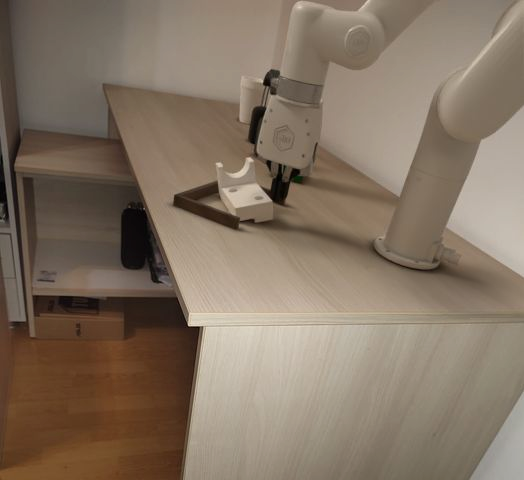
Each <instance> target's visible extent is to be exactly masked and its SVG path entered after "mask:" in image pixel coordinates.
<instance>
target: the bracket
mask: <svg viewBox="0 0 524 480" xmlns="http://www.w3.org/2000/svg"><path fill="white" fill-rule="evenodd" d="M215 170H216V179H217V180H218V188H219V192H218V195H219V197H220V199H221V201H222V203H223V204H224V206H225V207H226V208H227V210H228V211H229V214H232V215H234V216H237V217H240V221H239V222H241V221H248V220H253V222H254V223H262V222H267V221H271V220H274V206H273V205H274V204H273V203H274V202H272V200H271V199H270V198H269V197H268V195H267V194H266V193H265V192H264V191H263V190H262V189H261V187H260V186H261V185H259V184H258V183H257V179H256V168H255V160H254V159H253V158H252V157H251V156H249V157H245V162H244V165H243V167H242V168H241V169H240V170H239V171H237V172H234V173H233V172H232V173H230V172H228V171H226V170H225V167H224V164H222V162H215Z"/></svg>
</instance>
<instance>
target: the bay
mask: <svg viewBox="0 0 524 480" xmlns="http://www.w3.org/2000/svg"><path fill="white" fill-rule="evenodd" d="M259 186H260V187H261V189H262V190H263V191H264V192H265V193H266V194H267V195H268V197H269V198H270V199H271V194H270V189H271V188H267V187H263V186H261V185H259ZM217 193H219V188H218V179H217V180H215V181H211V182H208V183H205V184H202V185H198V186H196V187H194V188H190V189H187V190H185V191H181V192H178V193H175V194H174V195H173V203H172V205H173V207H174V206H175V207H177V208H180V209H182V210H184V211H188V212H190V213H192V214H195V215H198V216H200V217H202V218H205V219H208V220H209V221H210V220H211V221H212V222H213V221H214V222H216V223H218V224H221V225H223V226H226V227H228V228H231V229H233V230H238V229H239V226H240V222H241V221H240V217H237V216H234V215H232V214H231V213H230V212H226V211H223V210H221V209H218V208H216V207H213V206H210V205H208V204H205V203H202V202H200V201H198V200H200V199H202V198H206V197H208V196H211V195H214V194H217ZM286 200H287V198H285V199H284V200H283V201H281V202H279V203H277V202H275V201H272V202H273V203H274V204H277V205H280V206H285V204H286Z"/></svg>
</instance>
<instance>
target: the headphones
mask: <svg viewBox="0 0 524 480" xmlns="http://www.w3.org/2000/svg"><path fill="white" fill-rule="evenodd" d="M280 72H281V70H279V69H273V68H270V69H269V71H267V72H266V73H265V75H264V78H263V79H262V80H263V86H265V88H264V92H263V96H262V101H261V106H256V107H254V108H253V111H252V116H251V122H250V124H249V129H248V135H247V139H248V142H250V143H253V144H254V148H253V149H254V150H253V154H254V156H256V157H258V153H257V143H258V138H259V134H260V129H261V126H262V122H263V118H264V115H265V112H266V109H267V101H268V97H269V94H270V96H272V95H276V94H277V93H276V88H275V87H273V86H271V81H272V78H278V76H279V75H280ZM267 86H268V87H269V88H268V91H267V94H266V97H265V100H264V104H263V99H264V95H265V91H266V87H267ZM262 105H263V106H262Z"/></svg>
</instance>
